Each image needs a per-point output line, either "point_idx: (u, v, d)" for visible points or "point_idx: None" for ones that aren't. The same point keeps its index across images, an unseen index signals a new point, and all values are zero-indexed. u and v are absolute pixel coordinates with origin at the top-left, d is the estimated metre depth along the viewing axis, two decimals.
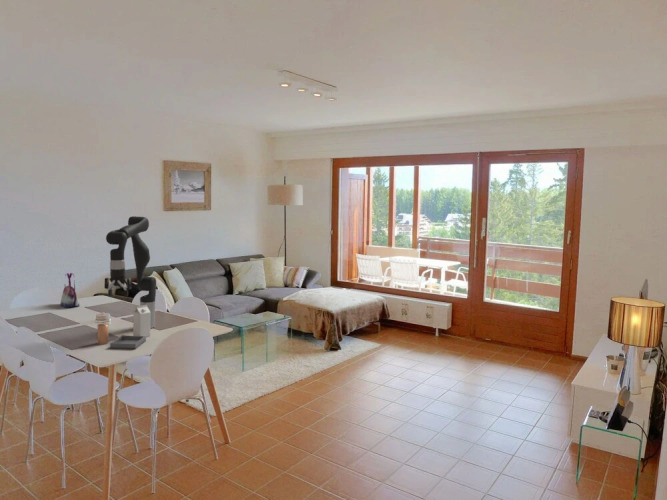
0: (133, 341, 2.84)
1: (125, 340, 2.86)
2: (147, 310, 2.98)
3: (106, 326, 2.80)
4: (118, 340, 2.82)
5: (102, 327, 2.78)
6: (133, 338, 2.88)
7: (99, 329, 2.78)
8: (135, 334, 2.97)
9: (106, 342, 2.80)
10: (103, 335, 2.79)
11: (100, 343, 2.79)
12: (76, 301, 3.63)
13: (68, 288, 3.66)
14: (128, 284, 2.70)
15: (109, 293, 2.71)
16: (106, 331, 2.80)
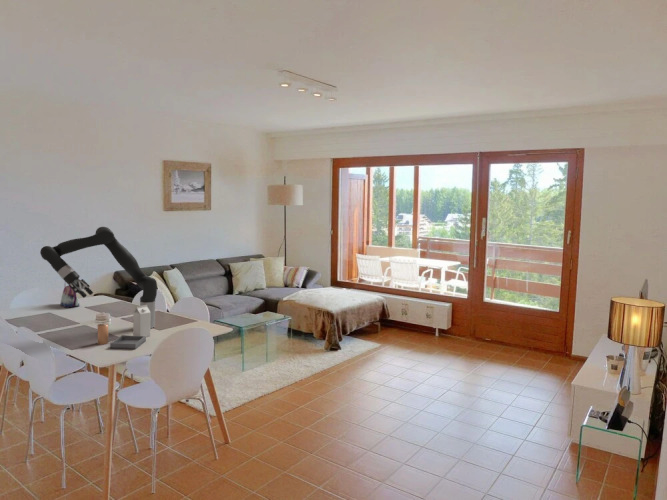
0: (133, 341, 2.84)
1: (125, 340, 2.86)
2: (147, 310, 2.98)
3: (106, 326, 2.80)
4: (118, 340, 2.82)
5: (102, 327, 2.78)
6: (133, 338, 2.88)
7: (99, 329, 2.78)
8: (135, 334, 2.97)
9: (106, 342, 2.80)
10: (103, 335, 2.79)
11: (100, 343, 2.79)
12: (76, 301, 3.63)
13: (68, 288, 3.66)
14: None
15: (88, 292, 2.86)
16: (106, 331, 2.80)
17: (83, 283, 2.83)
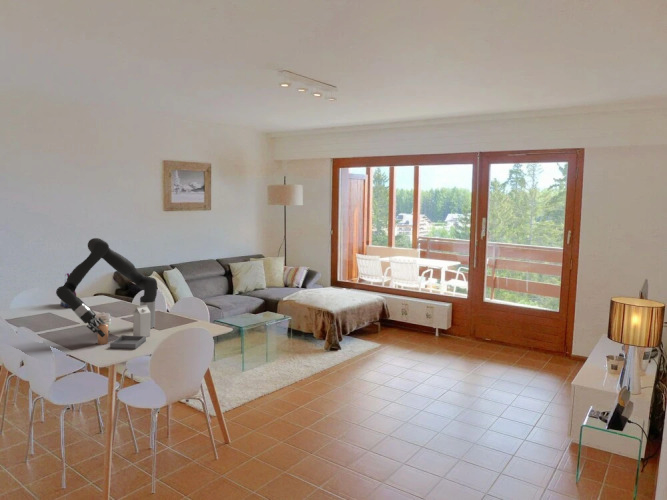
0: (133, 341, 2.84)
1: (125, 340, 2.86)
2: (147, 310, 2.98)
3: (106, 326, 2.80)
4: (118, 340, 2.82)
5: (102, 327, 2.78)
6: (133, 338, 2.88)
7: None
8: (135, 334, 2.97)
9: (106, 342, 2.80)
10: None
11: (100, 343, 2.79)
12: None
13: None
14: None
15: None
16: (106, 331, 2.80)
17: (99, 322, 2.82)
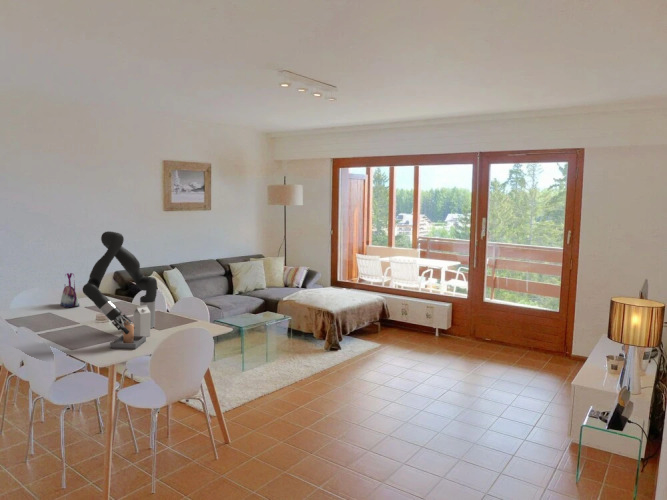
0: None
1: None
2: (147, 310, 2.98)
3: (132, 326, 2.79)
4: (118, 340, 2.82)
5: (128, 327, 2.78)
6: None
7: None
8: (135, 334, 2.97)
9: (132, 342, 2.80)
10: (128, 335, 2.78)
11: None
12: (76, 301, 3.63)
13: (68, 288, 3.66)
14: None
15: None
16: (132, 331, 2.79)
17: (125, 319, 2.82)
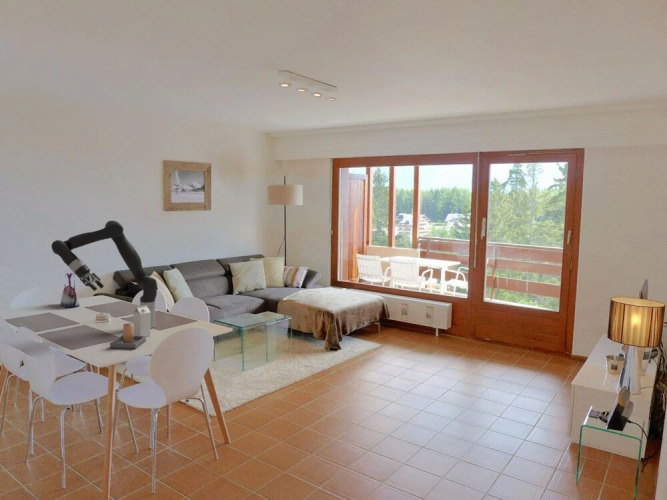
0: None
1: None
2: (147, 310, 2.98)
3: (132, 326, 2.79)
4: (118, 340, 2.82)
5: (128, 327, 2.78)
6: None
7: (125, 329, 2.78)
8: (135, 334, 2.97)
9: (132, 342, 2.80)
10: (128, 335, 2.78)
11: None
12: (76, 301, 3.63)
13: (68, 288, 3.66)
14: None
15: (99, 286, 2.89)
16: (132, 331, 2.79)
17: (94, 276, 2.86)
